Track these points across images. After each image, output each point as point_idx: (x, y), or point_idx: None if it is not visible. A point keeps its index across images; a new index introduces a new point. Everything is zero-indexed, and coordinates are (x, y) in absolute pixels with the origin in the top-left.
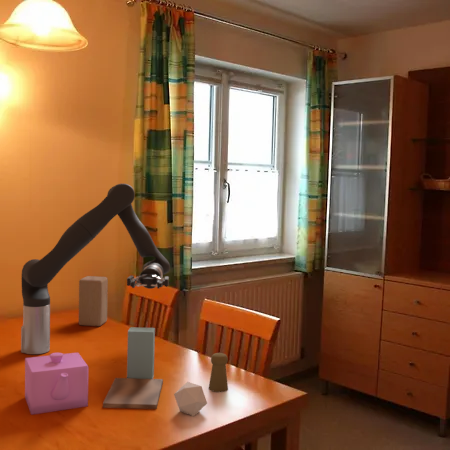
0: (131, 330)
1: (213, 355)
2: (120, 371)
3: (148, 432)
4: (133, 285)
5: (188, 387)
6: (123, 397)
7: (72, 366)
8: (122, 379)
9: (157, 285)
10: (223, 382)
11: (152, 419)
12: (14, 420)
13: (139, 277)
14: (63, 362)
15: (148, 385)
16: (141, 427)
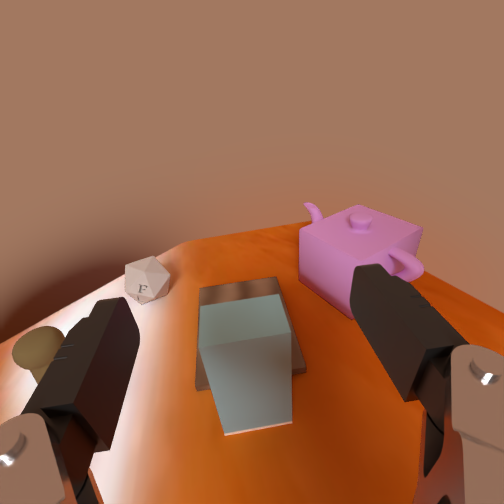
0: (271, 303)
1: (52, 333)
2: (330, 451)
3: (204, 252)
4: (355, 288)
5: (146, 258)
6: (254, 296)
7: (321, 223)
8: None
9: (130, 315)
10: None
11: (203, 271)
12: None
13: (459, 458)
14: (346, 228)
15: None
16: (213, 257)
